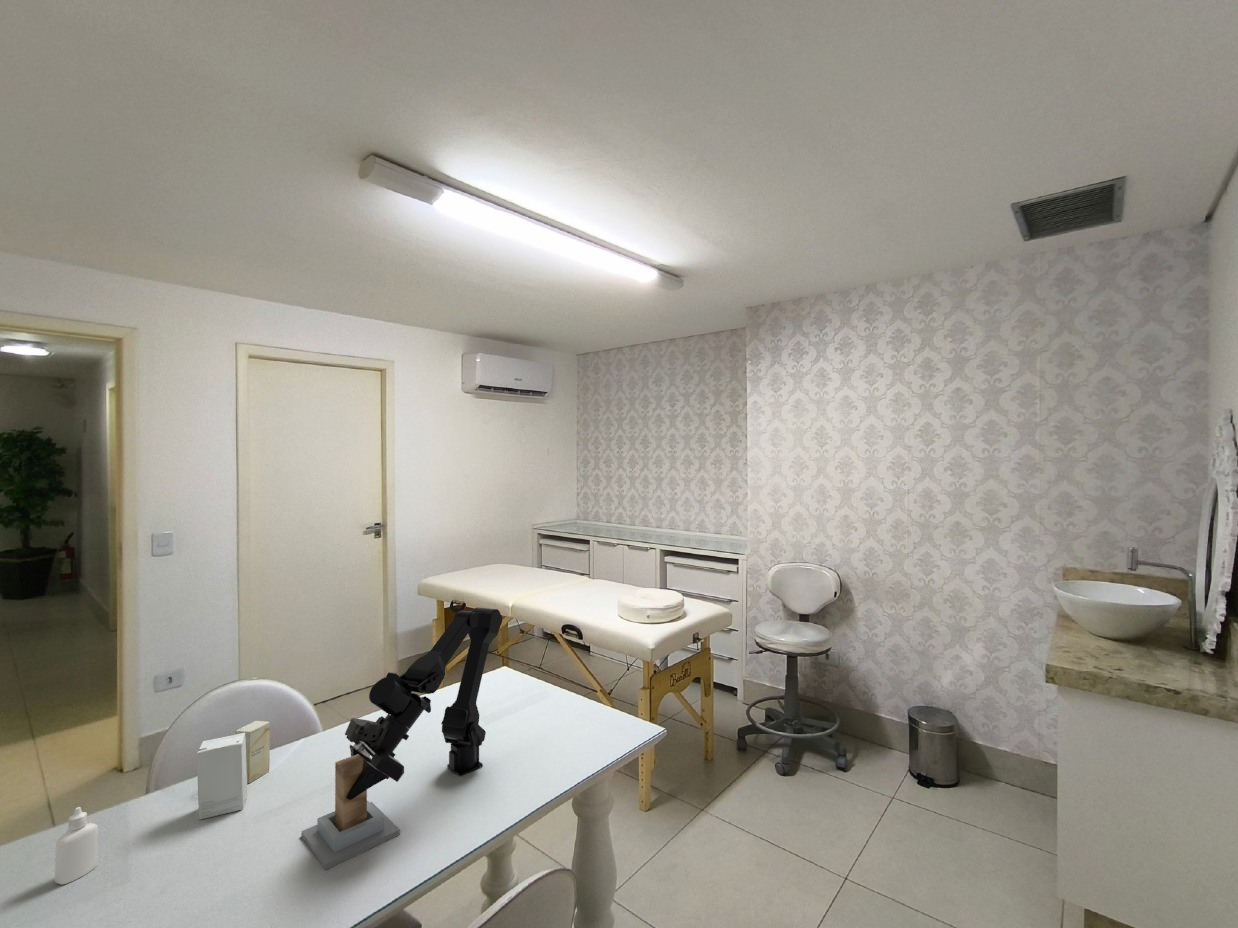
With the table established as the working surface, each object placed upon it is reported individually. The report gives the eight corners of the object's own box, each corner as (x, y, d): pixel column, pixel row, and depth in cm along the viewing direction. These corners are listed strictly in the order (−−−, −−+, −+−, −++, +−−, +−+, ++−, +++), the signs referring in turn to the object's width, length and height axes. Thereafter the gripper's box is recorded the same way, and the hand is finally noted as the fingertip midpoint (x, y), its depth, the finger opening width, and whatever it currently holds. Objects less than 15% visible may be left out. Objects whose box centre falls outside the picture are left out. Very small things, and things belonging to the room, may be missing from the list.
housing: (371, 806, 122) (371, 790, 122) (399, 834, 112) (399, 816, 112) (301, 835, 112) (301, 818, 112) (325, 869, 102) (325, 850, 102)
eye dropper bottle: (55, 876, 101) (56, 809, 101) (97, 861, 105) (98, 796, 105) (54, 888, 98) (55, 819, 98) (98, 872, 102) (99, 806, 102)
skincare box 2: (248, 784, 131) (249, 732, 132) (233, 782, 132) (233, 730, 132) (270, 770, 137) (271, 721, 138) (255, 768, 138) (256, 719, 139)
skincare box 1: (247, 797, 126) (248, 730, 126) (242, 811, 120) (243, 742, 121) (202, 806, 122) (203, 738, 123) (195, 821, 117) (196, 750, 117)
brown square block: (358, 814, 115) (358, 753, 116) (366, 823, 112) (366, 761, 113) (335, 824, 112) (335, 761, 112) (343, 834, 109) (343, 769, 109)
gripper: (356, 690, 122) (300, 758, 114) (388, 716, 109) (326, 795, 101) (392, 715, 127) (340, 782, 120) (427, 743, 114) (371, 820, 106)
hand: (343, 793), depth 111 cm, fingers closed on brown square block, 5 cm apart
